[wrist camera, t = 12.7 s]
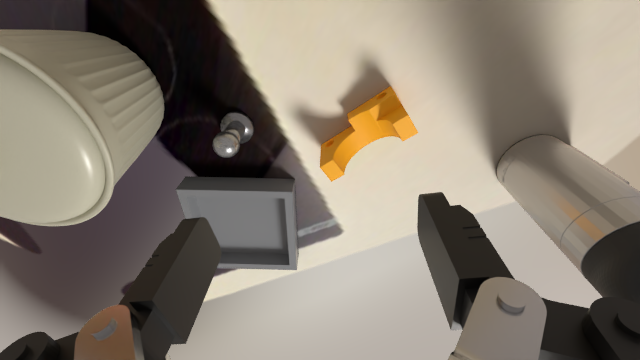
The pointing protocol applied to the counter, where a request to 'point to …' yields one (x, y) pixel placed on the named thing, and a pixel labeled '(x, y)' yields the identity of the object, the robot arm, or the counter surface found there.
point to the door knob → (233, 133)
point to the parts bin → (246, 219)
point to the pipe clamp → (366, 131)
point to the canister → (69, 122)
